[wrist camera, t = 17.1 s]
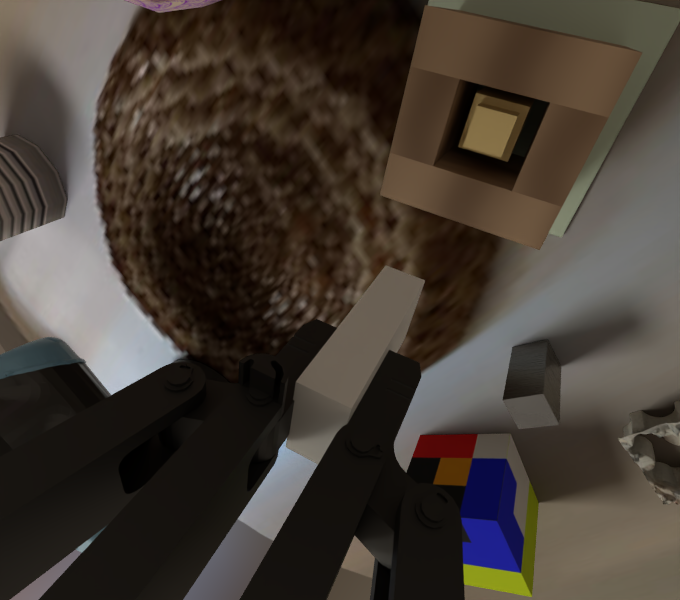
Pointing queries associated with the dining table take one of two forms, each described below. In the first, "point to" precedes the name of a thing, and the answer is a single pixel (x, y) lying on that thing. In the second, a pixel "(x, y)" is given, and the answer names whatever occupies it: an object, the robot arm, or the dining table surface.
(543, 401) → the stand post
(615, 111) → the square base plate
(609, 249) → the dining table surface
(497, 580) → the puzzle toy
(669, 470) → the grey piece
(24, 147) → the can
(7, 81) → the dining table surface
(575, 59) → the hollow square sleeve
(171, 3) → the bowl of food
